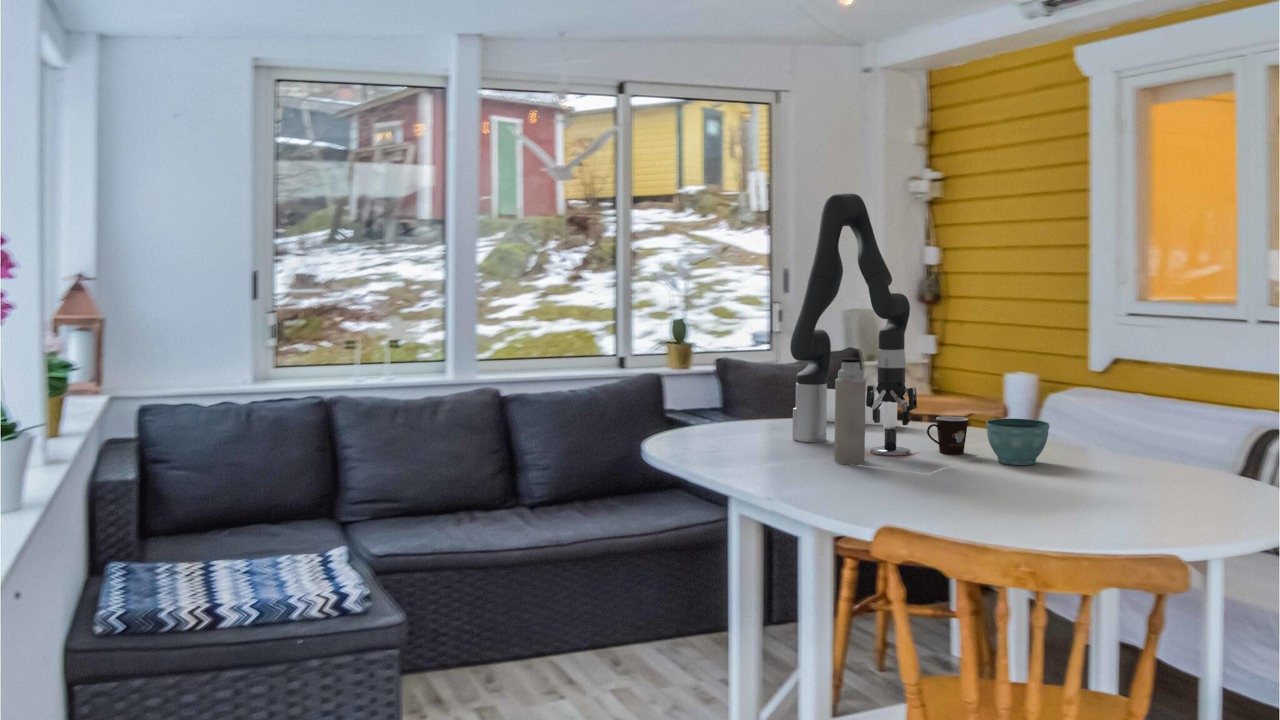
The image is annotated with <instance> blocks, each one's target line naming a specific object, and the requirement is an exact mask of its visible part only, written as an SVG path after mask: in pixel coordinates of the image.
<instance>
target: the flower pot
mask: <svg viewBox="0 0 1280 720" xmlns="http://www.w3.org/2000/svg"><path fill="white" fill-rule="evenodd" d="M985 425H986V434H987V439H988V442H989V446H990V447H991V449H992V451H993V453H995V455H996V456H997V460H998V462H999V463H1000V464H1005V465H1010V466H1030V465H1035V464H1036V463H1037V458H1038V457H1040V455H1041V454H1042V452H1043V450H1044V448H1045V446H1046V444H1047V440H1048V437H1049V430H1050V427H1051V424H1050V422H1048V421H1044V420H1040V419H1039V420H1038V419H1030V418H1029V419H1028V418H995V419H989V420H987V421H985Z"/></svg>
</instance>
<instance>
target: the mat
mask: <svg viewBox="0 0 1280 720" xmlns="http://www.w3.org/2000/svg"><path fill="white" fill-rule="evenodd" d="M919 453H920V452H919V451H912V450H911V454H910V455H907V456H897V457H891V456H881V457H883V458H891V459H899V460H900V459H904V458H907V457H911V456H913V455H917V454H919ZM865 456H873V457H874V456H875V457H880V456H879V455H874V454H871V453H870V450H869V451H865Z"/></svg>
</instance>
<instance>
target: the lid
mask: <svg viewBox="0 0 1280 720" xmlns="http://www.w3.org/2000/svg"><path fill="white" fill-rule="evenodd" d="M869 451H870V453H871V454H874V455H879V456H878V457H882V456H891V457H897V456H907V455H910V454H911V451H912V450H911V449H910V448H908V447H902V446H897V428H896V427H887V428H885V430H884V445H882V446H873V447H870V449H869ZM874 455H873V456H874ZM891 457H890V458H891ZM907 457H908V456H907Z"/></svg>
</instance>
